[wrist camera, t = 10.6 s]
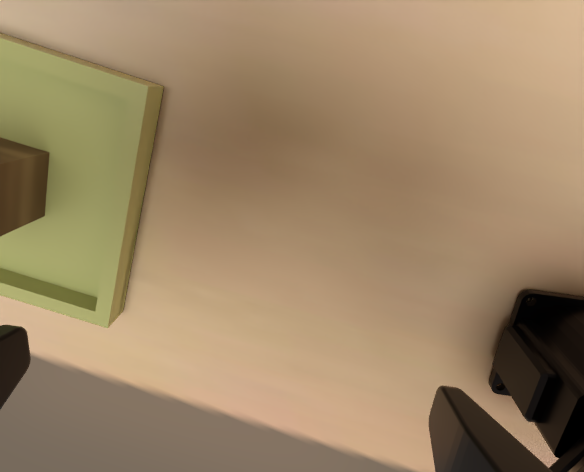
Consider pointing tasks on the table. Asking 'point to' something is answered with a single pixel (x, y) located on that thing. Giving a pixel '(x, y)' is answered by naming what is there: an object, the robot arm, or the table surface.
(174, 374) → the table surface
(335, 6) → the table surface
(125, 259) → the olive tray
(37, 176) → the walnut stick
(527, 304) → the robot arm
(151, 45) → the table surface
